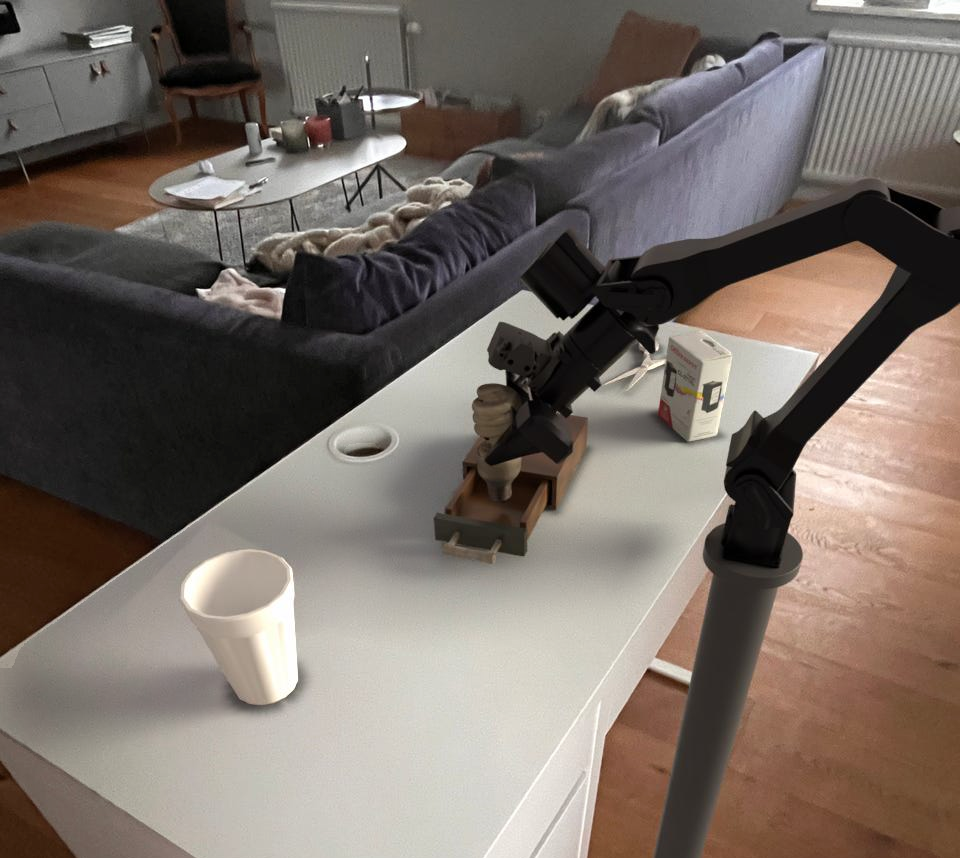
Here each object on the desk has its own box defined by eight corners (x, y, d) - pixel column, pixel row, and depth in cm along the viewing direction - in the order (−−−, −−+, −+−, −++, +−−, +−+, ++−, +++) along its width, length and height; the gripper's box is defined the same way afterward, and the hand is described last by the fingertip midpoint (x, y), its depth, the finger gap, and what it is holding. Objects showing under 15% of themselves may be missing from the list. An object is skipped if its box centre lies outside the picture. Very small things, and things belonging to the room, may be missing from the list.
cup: (207, 667, 83) (170, 566, 74) (303, 638, 86) (278, 537, 77) (226, 736, 77) (188, 634, 68) (329, 702, 79) (306, 599, 70)
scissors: (706, 348, 132) (645, 396, 120) (705, 353, 132) (644, 401, 121) (647, 333, 137) (583, 378, 125) (647, 338, 137) (583, 382, 126)
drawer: (514, 577, 91) (514, 554, 89) (422, 559, 94) (420, 536, 92) (558, 490, 103) (559, 468, 101) (476, 476, 106) (475, 455, 104)
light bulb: (525, 514, 96) (524, 396, 86) (479, 518, 96) (472, 401, 86) (519, 487, 100) (517, 371, 90) (475, 491, 100) (468, 376, 90)
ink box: (656, 415, 118) (666, 334, 110) (685, 408, 119) (698, 328, 111) (687, 443, 112) (701, 360, 104) (718, 435, 114) (734, 353, 105)
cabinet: (555, 510, 102) (557, 476, 98) (463, 494, 105) (462, 461, 102) (586, 449, 112) (588, 417, 109) (501, 436, 115) (501, 404, 112)
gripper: (525, 266, 89) (432, 369, 96) (541, 337, 75) (431, 451, 83) (594, 333, 94) (500, 426, 102) (621, 411, 81) (510, 512, 88)
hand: (486, 450), depth 94 cm, fingers closed on light bulb, 5 cm apart
